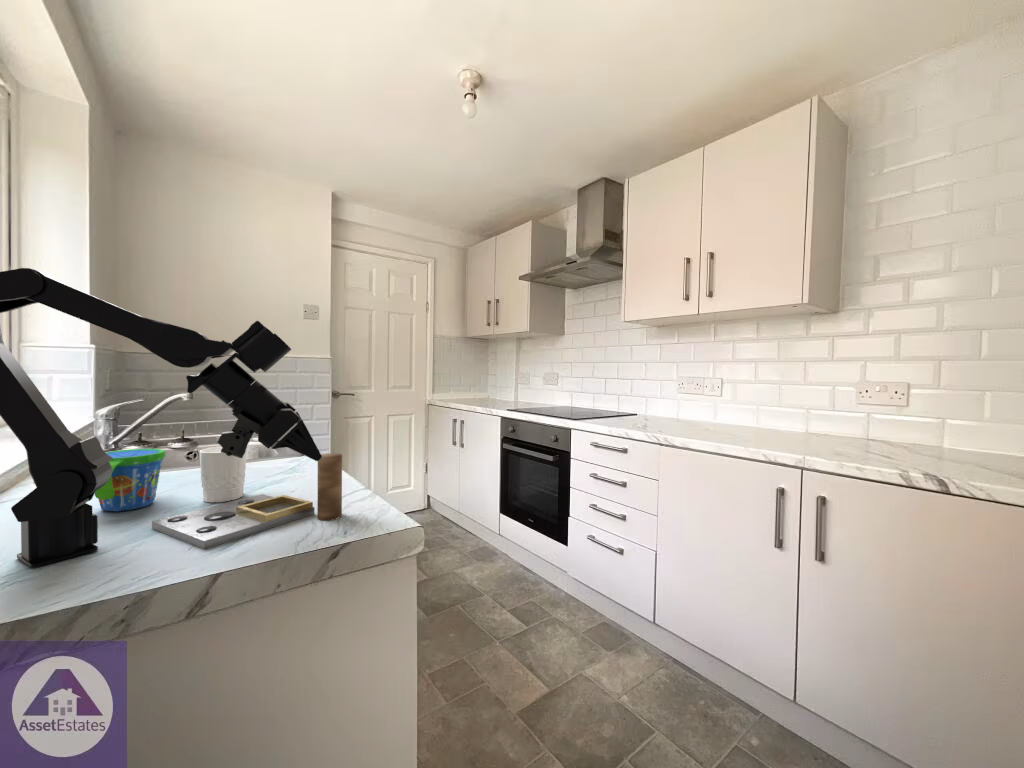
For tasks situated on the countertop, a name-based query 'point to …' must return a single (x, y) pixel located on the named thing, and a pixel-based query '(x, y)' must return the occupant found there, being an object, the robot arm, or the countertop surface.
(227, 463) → the white cup
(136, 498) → the snack cup
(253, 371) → the robot arm
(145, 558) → the countertop surface
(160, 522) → the flange plate
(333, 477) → the dowel
